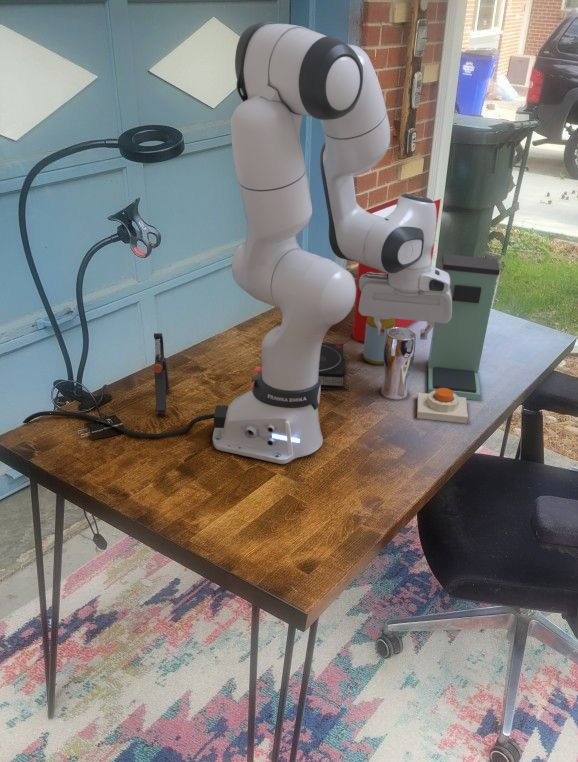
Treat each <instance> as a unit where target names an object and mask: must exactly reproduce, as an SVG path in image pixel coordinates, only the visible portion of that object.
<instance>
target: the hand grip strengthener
mask: <svg viewBox="0 0 578 762" xmlns="http://www.w3.org/2000/svg"><path fill="white" fill-rule="evenodd" d="M153 339H154V350H155V352H154V353H155V357H154V365H153V368H152V370H153V373H154V375H153V376H154V386H155V387H154V393H155V412H156V413H157V415H158V416H166V413H167V411H168V410H167V409H168V408H167V406H168V405H167V395H168V393H169V390H170V381H169V373H168V363H167V358H166V357H165V349H164V337H163V333H161V332H154V333H153Z"/></svg>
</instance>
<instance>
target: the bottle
mask: <svg viewBox="0 0 578 762" xmlns="http://www.w3.org/2000/svg"><path fill="white" fill-rule="evenodd" d="M380 323H381V326H385V332H384V336H378V328H377V326H376V324H375V322H374V317H372V316H368V318H367V321H366V331H365V342H363V343H364V344H363V353H362V354H363V357H362V358H363V359H364V360H365V362H366V363H368V364H371V365H375V366H384V355H383V354H384V345H385V339H386V334H387V330H388V329H390V328H394V327H395V319H393V318H382V317H381V318H380Z"/></svg>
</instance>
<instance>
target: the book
mask: <svg viewBox="0 0 578 762" xmlns="http://www.w3.org/2000/svg"><path fill="white" fill-rule="evenodd" d="M410 194H415V192H412V193H410ZM432 201H433V202H434V203H435V205H436V214H437V220H436V230H437V228H438V220H439V215H440V208H441V201H442V198H439V199H435V200H432ZM397 202H398V198H395V199H392V200H390V201H387V202H385V203H381V204H379V205H376V206H373V207H371V208H368V209H364V210H365V211H367V212H369V213H371V214H374V215H377V216H380V217H383V218H385V217H387V216H388V215H390V214H391V213H392V212H393V211H394V210H395V208H396V206H397ZM436 235H437V233H436V234H435V237H436ZM435 242H436V241H435ZM435 242H434V245H433V247H432V251H431V259H432V260H433V258H434V257H433V256H434V248H435ZM367 272H373V273H387V272H383V271H380V270H378V269H375V268H371V267H369V266H366V265H363V264H360V263H358V268H357V279H356V298H355V302H354V312H353V313H354V314H353V315H354V316H353V326H352V339H353V340H355V341H359V342H362V343H364V342H365V331H366V321H367V318H368V316H362V315H361V314H360V313H359V311H358V310H359V302H360V297H361V291H360V289H359V279H360V277H361V276H362V275H363V274H367ZM365 277H367V276H365ZM387 280H388V279H387ZM415 322H416V321H415V320H404V319H395V327H402V328H408V327H409V326H410V325H411V324H413V323H415Z"/></svg>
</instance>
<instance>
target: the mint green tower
mask: <svg viewBox="0 0 578 762" xmlns="http://www.w3.org/2000/svg"><path fill="white" fill-rule="evenodd" d="M441 260H442V261H441V262H442V266H441V270H442V271H445V272H447V273H448V274H449V276H450V290H451V295H452V316H451V320H450V321H449V322H448V323H437V322H434V326H433V328H432V333H431V340H430V346H429V354H428V359H427V385H428V386H427V394H429V393H430V392H432V391H436V390H437V389H438V388H447V389H450V390H452V391H453V393H455V394H456V395H457V396H458V397H465V398H466V400H472V401H473V400H474V401H480V399H481V388H480V380H479V371H480V365H481V360H482V355H483V349H484V345H485V339H486V336H487V335H486V334H487V329H488V324H489V318H490V314H491V309H492V305H493V304H492V303H493V299H494V294H495V287H496V283H497V279H498V276H500V271H501V270H500V265H499V260H498V259H497V258H489V257H480V256H479V257H478V256H469V255H459V254H450V253H442V259H441Z"/></svg>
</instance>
